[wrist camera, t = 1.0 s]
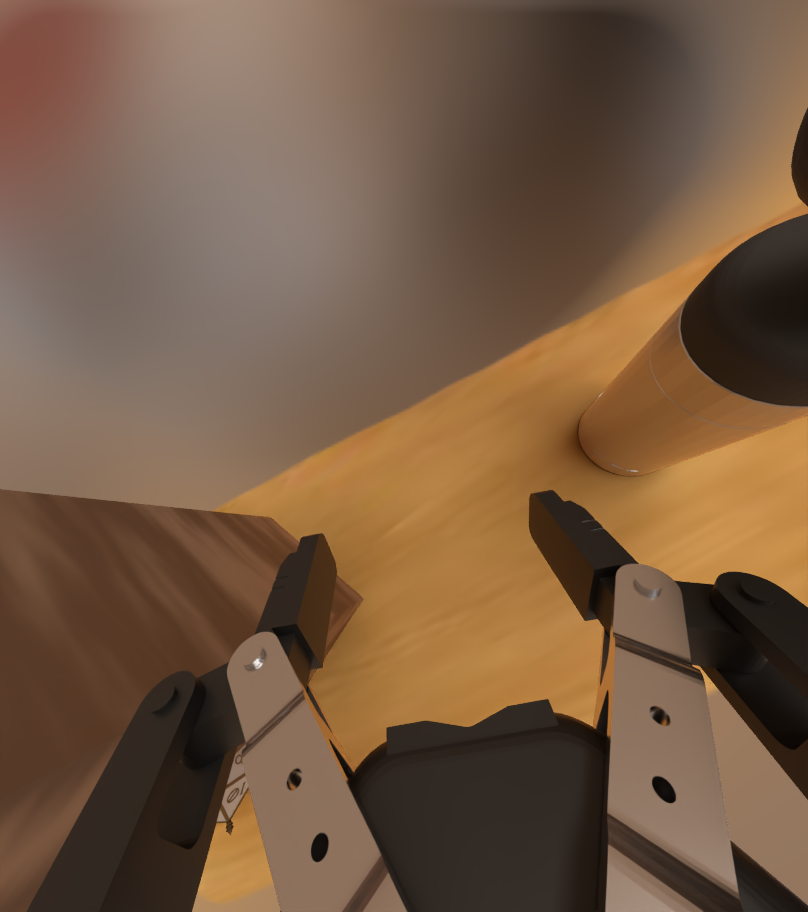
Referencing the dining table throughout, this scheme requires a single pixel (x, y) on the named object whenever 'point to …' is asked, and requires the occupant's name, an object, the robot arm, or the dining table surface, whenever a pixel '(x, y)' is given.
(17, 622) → the walnut pedestal
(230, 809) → the game die
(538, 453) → the dining table surface
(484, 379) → the dining table surface
